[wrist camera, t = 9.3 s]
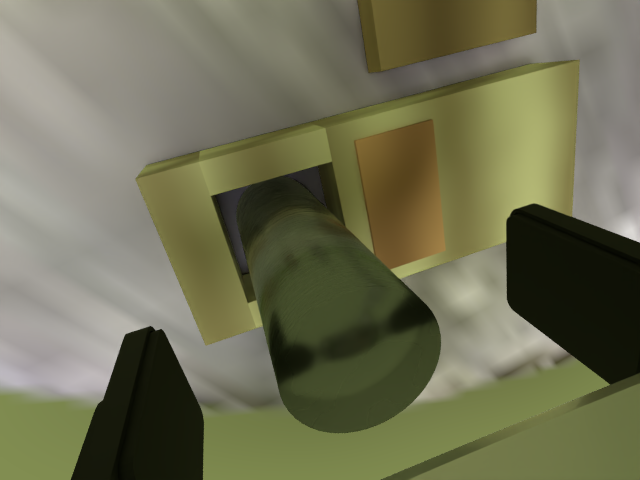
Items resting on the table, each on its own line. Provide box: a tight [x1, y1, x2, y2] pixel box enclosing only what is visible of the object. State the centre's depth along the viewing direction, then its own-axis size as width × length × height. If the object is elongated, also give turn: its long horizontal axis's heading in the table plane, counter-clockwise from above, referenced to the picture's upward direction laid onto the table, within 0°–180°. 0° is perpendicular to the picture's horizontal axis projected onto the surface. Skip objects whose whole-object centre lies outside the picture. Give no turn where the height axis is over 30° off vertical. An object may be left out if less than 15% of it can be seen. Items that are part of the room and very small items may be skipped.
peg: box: [236, 176, 441, 433], centre depth 14 cm, size 4×4×12 cm
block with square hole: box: [136, 60, 580, 345], centre depth 19 cm, size 20×8×3 cm, turn 103°
